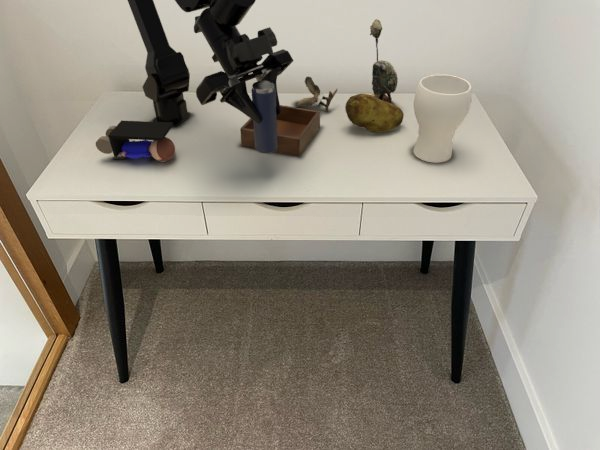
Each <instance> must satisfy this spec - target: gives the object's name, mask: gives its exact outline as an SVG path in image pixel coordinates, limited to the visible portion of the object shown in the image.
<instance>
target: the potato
mask: <svg viewBox="0 0 600 450" xmlns="http://www.w3.org/2000/svg"><path fill="white" fill-rule="evenodd" d="M396 105H397V104H396ZM396 105H393V104H391V103H388V102H385V101H383V100H380V99H378V98H376V97H374V96H372V94H368V93H358V94H354V95H351V96H350V97H349V98H348V99H347V101H346V103H345V107H344V109H345V110H344V111H345V113H346V116H347V118H348V120H349V121H350V122H351V124H353V125H354V126H357V127H358V128H361V129H365V130H367V131H369V132H373V133H386V132H390V131H393V130H394V129H396V128H398V127H399V126H400V125H401V124H403V121H404V116H405V115H404V111H403V110H402V109H401V107H400V106H398V105H397V106H396Z"/></svg>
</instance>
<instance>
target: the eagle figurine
mask: <svg viewBox="0 0 600 450" xmlns="http://www.w3.org/2000/svg"><path fill="white" fill-rule="evenodd" d="M304 84H305V85H306V88H307V89H308V92H309V93H311V94H312V95H313V96H311V97H304V98H301V99H300V100H299V101H296V102H295V103H294V107H296V108H300V107H307V108H308V107H309V108H310V107H312V106H313V105H314V104H316V106H318V105H321V106H322V107H324V109H325V111H326V112H327V113H328V111H329V106H330V104H331V102H332V100H334V99H333V98H334V97H335V95H336V94H337V93H338V90H339V89H338V88H336V89H335V90H334V92H332V90H331V91H329V92H328V96H324V92H322V93H321V89H320V87H319V85H318V84H316V83H315V82H314V80H313V78H312V77H311V76H306V77H305V79H304ZM322 100H326V103H324V102H323V101H322Z"/></svg>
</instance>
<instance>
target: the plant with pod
mask: <svg viewBox="0 0 600 450" xmlns="http://www.w3.org/2000/svg"><path fill="white" fill-rule="evenodd" d="M369 29H370V34H369V36H372V37H373V38H375V47H376V61H375V62H374V63H373V64H372V73H371V75H372V76H371V77H372V80H371V86H372V88H371V89H372V91H373V93H371V95H372V96H374V97H376V98H378V99H380V100H383V101H385V102H388V103H391V104H393V105H396V106H397V107H398V105H397V104H396V103H395V102H394V100H393V99H392V95H391V94H392V93H395V92H396V89H397V88H398V87H397V86H398V73H397V72H396V70H395V67H394V66H393V64H392V63H390V62H389V61H387V60H379V49H378V45H379V44H378V43H379V38H380V36H381V34H382V31H383V26H382V23H381V21H380V20H379V19H377V18H376V19H374V20H373V22H372V24H371V25H370V26H369Z"/></svg>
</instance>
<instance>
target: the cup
mask: <svg viewBox="0 0 600 450" xmlns="http://www.w3.org/2000/svg"><path fill="white" fill-rule="evenodd" d="M472 98H473V97H472V85H471V83H470V82H469V81H468V80H467V79H464V78H462V77H459V76H456V75H451V74H444V73H440V74H430V75H427V76H424V77H422V78H421V79H420V81H419V83H418V85H417V87H416V90H415V92H414V99H413V111H414V116H415V120H416V122H417V124H418V135H417V138H416V141H415V144H414V146H413V154H414V156H416V158H418V159H420V160H421V161H423V162H429V163H436V164H437V163H443V162H444V163H445V162H447V161H449V160H450V159H451V158H452V156H453V140H454V136H455V134H456V131H457V130H458V129H459V127H460V126H461V125H462V124H463V123H464V121H465V119H466V117H467V116H468V114H469V112H470V109H471V104H472V101H473V99H472Z"/></svg>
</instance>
